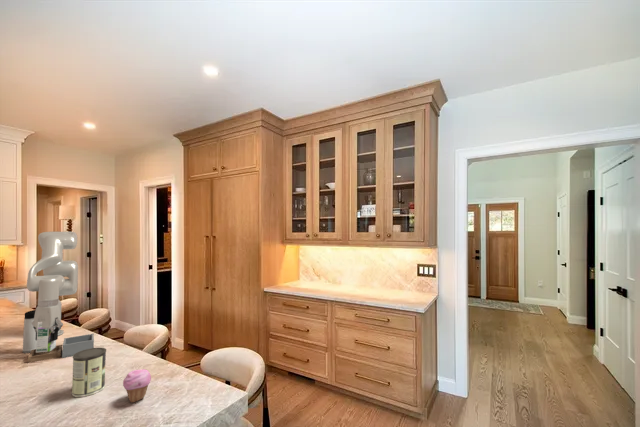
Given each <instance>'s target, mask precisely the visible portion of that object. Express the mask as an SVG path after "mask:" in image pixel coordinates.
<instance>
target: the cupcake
mask: <svg viewBox="0 0 640 427" xmlns="http://www.w3.org/2000/svg"><path fill="white" fill-rule="evenodd" d="M122 381H123V382H122V387H124V389H125V390H126V394H127V398H128V400H129V402H130V403H136V402H138V401H140V400H143V399H144V397H146V393H147V390H148V386H149V384H151V381H152V375H151V373H150V371H149V370H147V369H144V368H143V369H142V368H141V369H134V370H132V371H129V372H128V374H126V377H124V379H123V380H122Z"/></svg>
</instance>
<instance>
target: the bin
mask: <svg viewBox="0 0 640 427" xmlns="http://www.w3.org/2000/svg"><path fill="white" fill-rule="evenodd" d="M94 337H95V335H94V333H88V334H83V335H77V336H70V337H64V338H63V343H62V353H61V359H65V358H69V357H73V355H74V354H75V353H77V352H79V351H82V350H86V349H90V348H95V347H94V346H95V338H94Z"/></svg>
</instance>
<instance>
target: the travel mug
mask: <svg viewBox="0 0 640 427" xmlns="http://www.w3.org/2000/svg"><path fill="white" fill-rule="evenodd" d="M35 311H36V309H35V310H34V309H33V310H29V311H26V312H24V318H23V319H24V321H23V334H22V335H23V337H22V339H23V340H22V353H23V354H30V352H31V350H33V349H36V344H37V340H35V339H36V332H35V329H34V328H33V325H32V322H33V321H34V316H35Z"/></svg>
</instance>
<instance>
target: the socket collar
mask: <svg viewBox="0 0 640 427" xmlns="http://www.w3.org/2000/svg"><path fill="white" fill-rule="evenodd" d="M62 350H63V344H58V345H57V344H56V347H55V348H54V349H53V350H51V351H50V352H38V353H36V349H33V350H31V352H30V353H28V354H29V355H28V356H27V364H30V363H35V362H42V361H46V360H53V359H58V358H62Z"/></svg>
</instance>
